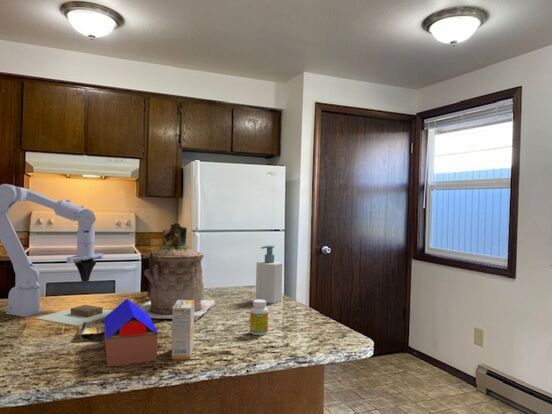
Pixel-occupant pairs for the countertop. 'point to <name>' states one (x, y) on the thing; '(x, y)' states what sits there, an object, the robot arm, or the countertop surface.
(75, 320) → the mat
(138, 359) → the house
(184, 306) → the supplement box
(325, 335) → the countertop surface
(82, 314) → the walnut slab
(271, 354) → the countertop surface
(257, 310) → the supplement bottle
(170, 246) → the brown textured pot
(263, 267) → the soap bottle
